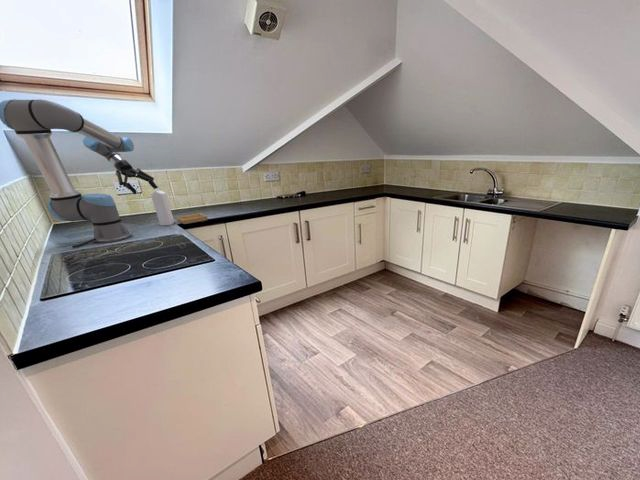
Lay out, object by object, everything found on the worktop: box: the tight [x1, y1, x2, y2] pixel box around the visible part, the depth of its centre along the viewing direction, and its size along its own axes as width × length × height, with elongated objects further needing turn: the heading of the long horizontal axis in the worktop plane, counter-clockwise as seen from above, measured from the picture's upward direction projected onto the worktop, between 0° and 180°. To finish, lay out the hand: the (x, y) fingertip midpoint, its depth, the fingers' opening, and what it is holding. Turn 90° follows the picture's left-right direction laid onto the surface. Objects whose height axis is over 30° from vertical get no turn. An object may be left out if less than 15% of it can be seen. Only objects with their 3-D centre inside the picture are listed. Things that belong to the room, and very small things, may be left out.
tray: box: [176, 212, 208, 225], centre depth 194 cm, size 14×13×3 cm
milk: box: [150, 187, 175, 227], centre depth 183 cm, size 6×6×22 cm
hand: (146, 190), depth 182 cm, fingers open, 13 cm apart
